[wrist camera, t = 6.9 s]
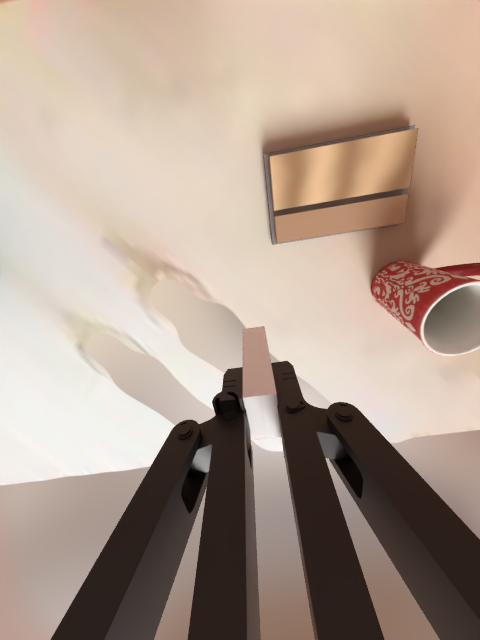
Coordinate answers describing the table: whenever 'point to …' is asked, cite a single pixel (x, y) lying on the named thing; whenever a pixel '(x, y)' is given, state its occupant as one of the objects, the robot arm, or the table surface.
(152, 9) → the table surface
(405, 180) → the plank
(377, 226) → the floor panel
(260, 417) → the robot arm
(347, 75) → the table surface
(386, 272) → the mug
